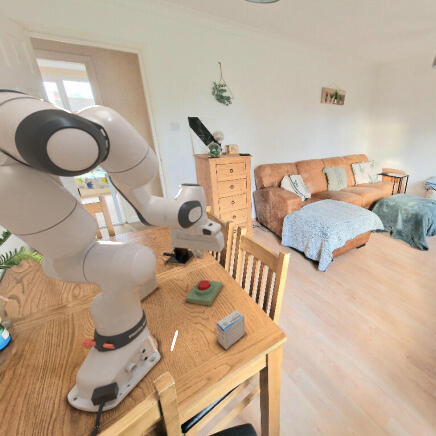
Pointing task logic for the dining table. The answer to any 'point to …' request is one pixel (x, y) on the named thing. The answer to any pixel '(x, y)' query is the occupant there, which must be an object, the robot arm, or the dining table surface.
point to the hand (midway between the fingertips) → (199, 258)
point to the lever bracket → (180, 256)
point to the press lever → (170, 253)
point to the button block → (204, 293)
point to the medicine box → (230, 329)
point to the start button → (204, 285)
